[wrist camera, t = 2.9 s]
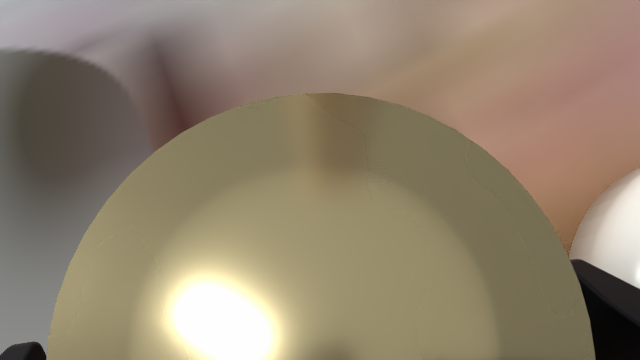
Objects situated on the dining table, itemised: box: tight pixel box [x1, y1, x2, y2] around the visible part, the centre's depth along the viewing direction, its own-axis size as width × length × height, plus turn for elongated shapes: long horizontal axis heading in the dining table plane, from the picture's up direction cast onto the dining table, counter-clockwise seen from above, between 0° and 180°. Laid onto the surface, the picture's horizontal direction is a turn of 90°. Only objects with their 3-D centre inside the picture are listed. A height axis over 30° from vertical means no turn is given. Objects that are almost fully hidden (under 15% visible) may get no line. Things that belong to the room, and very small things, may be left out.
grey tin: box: [46, 93, 595, 360], centre depth 11 cm, size 6×6×11 cm
